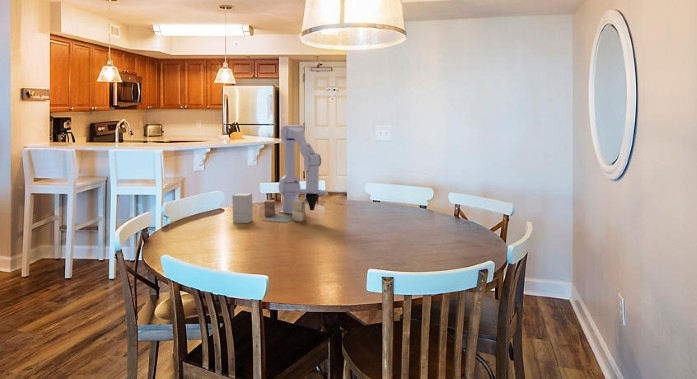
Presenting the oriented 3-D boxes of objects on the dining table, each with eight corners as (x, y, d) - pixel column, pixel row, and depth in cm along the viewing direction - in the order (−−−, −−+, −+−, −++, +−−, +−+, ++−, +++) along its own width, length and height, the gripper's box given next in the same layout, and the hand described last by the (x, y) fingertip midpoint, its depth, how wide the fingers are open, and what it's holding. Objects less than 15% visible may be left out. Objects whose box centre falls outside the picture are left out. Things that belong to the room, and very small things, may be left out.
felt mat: (276, 215, 242) (276, 214, 242) (298, 217, 238) (298, 216, 238) (262, 220, 229) (262, 220, 229) (286, 222, 225) (286, 222, 225)
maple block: (296, 219, 234) (296, 200, 233) (305, 219, 232) (305, 200, 231) (292, 220, 230) (292, 201, 228) (301, 221, 228) (301, 202, 227)
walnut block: (265, 213, 245) (265, 200, 244) (274, 214, 245) (274, 200, 244) (264, 215, 241) (264, 201, 240) (273, 215, 241) (273, 201, 240)
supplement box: (253, 220, 230) (252, 193, 228) (248, 223, 222) (248, 195, 221) (237, 219, 230) (237, 192, 229) (232, 222, 223) (231, 195, 221)
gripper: (294, 180, 225) (294, 210, 227) (324, 182, 220) (323, 212, 222) (300, 179, 231) (300, 207, 233) (329, 180, 227) (329, 209, 229)
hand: (312, 209), depth 228 cm, fingers closed
